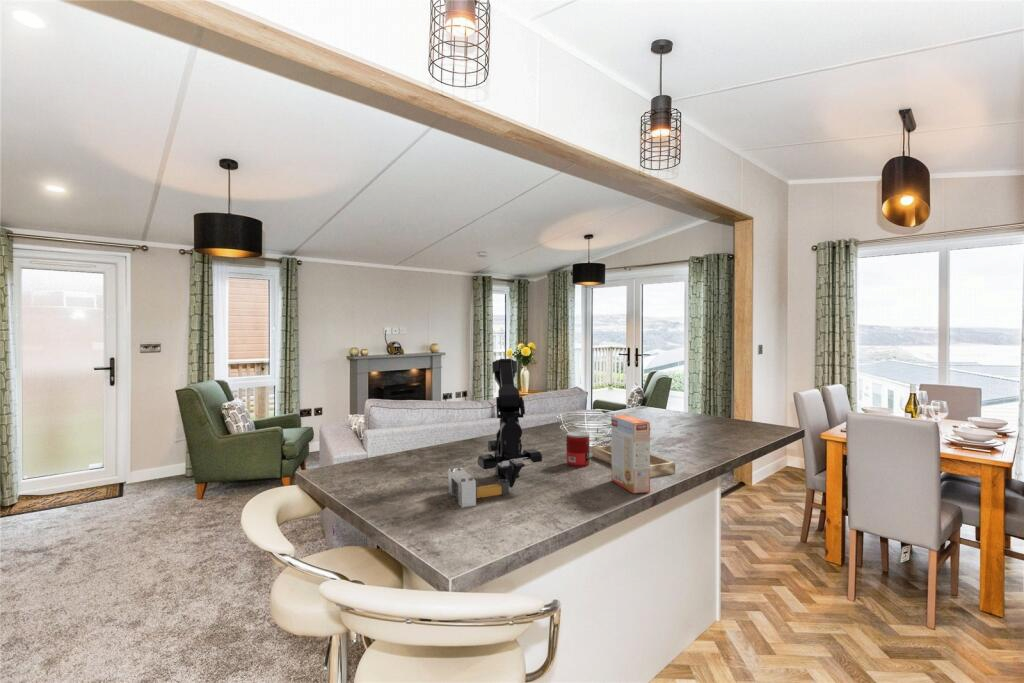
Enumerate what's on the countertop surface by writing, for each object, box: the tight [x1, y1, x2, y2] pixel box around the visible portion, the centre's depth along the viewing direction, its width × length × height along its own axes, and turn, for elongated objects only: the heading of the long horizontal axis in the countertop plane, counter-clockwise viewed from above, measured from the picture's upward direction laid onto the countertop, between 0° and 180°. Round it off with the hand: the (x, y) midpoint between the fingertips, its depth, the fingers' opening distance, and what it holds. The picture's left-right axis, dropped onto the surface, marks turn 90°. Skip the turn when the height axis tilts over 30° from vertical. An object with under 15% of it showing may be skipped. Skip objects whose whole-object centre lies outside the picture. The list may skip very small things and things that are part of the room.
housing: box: [447, 467, 477, 509], centre depth 139 cm, size 4×14×7 cm, turn 22°
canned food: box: [566, 430, 590, 468], centre depth 173 cm, size 8×8×11 cm
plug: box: [455, 479, 510, 500], centre depth 141 cm, size 15×4×4 cm, turn 113°
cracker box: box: [610, 414, 651, 495], centre depth 147 cm, size 14×6×21 cm, turn 15°
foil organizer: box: [592, 444, 676, 478], centre depth 172 cm, size 13×30×4 cm, turn 22°
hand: (510, 487), depth 144 cm, fingers closed
